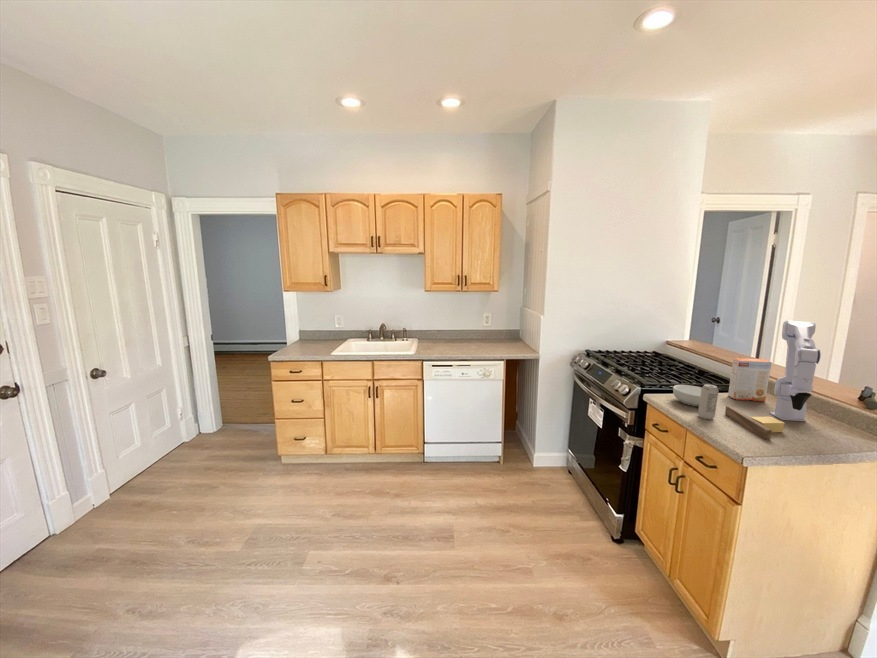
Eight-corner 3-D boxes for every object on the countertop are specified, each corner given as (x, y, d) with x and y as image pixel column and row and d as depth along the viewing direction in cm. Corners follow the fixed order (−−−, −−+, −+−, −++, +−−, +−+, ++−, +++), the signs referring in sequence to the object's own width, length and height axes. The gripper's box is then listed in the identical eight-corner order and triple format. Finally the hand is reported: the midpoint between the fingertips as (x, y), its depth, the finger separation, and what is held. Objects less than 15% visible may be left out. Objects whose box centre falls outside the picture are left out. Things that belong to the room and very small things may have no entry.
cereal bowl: (720, 411, 168) (722, 397, 167) (680, 408, 172) (682, 394, 170) (701, 398, 185) (703, 385, 183) (666, 396, 188) (667, 383, 187)
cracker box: (758, 397, 185) (764, 358, 181) (765, 402, 179) (772, 362, 176) (726, 395, 188) (732, 357, 184) (733, 399, 183) (739, 360, 179)
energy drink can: (706, 414, 165) (711, 383, 162) (717, 420, 159) (722, 388, 156) (694, 414, 165) (698, 383, 162) (704, 420, 159) (709, 388, 156)
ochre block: (768, 426, 154) (770, 416, 153) (782, 433, 148) (784, 422, 147) (748, 426, 153) (750, 416, 153) (761, 433, 147) (763, 423, 147)
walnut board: (729, 414, 165) (731, 406, 164) (770, 439, 142) (771, 430, 141) (724, 414, 165) (726, 406, 165) (764, 439, 142) (766, 429, 141)
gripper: (799, 372, 151) (793, 402, 153) (780, 377, 145) (775, 408, 148) (822, 377, 144) (815, 409, 147) (803, 382, 139) (797, 415, 141)
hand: (796, 409), depth 147 cm, fingers closed
